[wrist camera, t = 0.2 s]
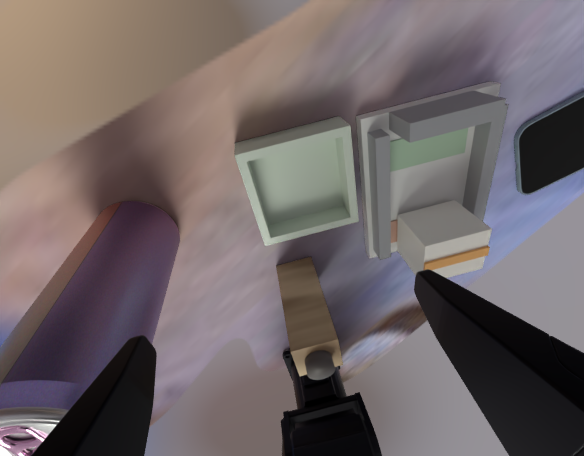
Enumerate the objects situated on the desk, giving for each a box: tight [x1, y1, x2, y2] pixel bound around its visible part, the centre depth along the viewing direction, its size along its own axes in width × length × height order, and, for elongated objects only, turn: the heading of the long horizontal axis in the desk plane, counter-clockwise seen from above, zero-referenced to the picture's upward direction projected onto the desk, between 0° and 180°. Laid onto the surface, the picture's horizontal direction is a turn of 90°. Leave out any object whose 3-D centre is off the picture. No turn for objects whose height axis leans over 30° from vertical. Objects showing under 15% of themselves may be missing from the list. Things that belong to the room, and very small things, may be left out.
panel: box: [356, 81, 509, 260], centre depth 23 cm, size 13×10×4 cm
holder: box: [235, 116, 359, 246], centre depth 22 cm, size 8×8×2 cm
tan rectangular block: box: [276, 257, 343, 380], centre depth 24 cm, size 3×3×10 cm
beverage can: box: [0, 201, 180, 456], centre depth 17 cm, size 6×6×15 cm
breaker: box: [397, 200, 492, 278], centre depth 24 cm, size 4×5×5 cm
